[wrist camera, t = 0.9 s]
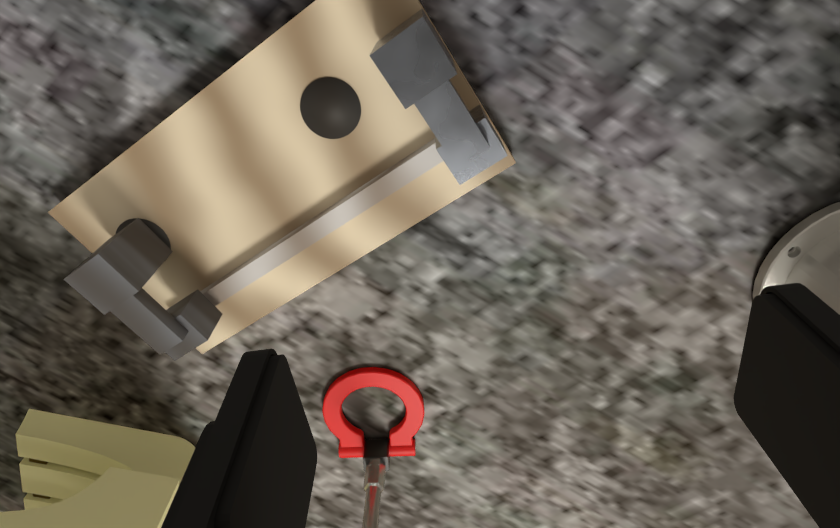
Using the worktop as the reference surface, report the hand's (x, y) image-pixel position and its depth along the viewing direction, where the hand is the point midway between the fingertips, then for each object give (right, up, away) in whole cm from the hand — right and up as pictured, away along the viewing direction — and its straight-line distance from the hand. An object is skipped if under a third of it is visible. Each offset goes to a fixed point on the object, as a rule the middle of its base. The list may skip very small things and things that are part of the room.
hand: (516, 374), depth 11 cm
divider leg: (-1, +12, +20) cm, 24 cm away
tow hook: (-6, -10, +35) cm, 37 cm away
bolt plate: (-11, +8, +25) cm, 28 cm away
